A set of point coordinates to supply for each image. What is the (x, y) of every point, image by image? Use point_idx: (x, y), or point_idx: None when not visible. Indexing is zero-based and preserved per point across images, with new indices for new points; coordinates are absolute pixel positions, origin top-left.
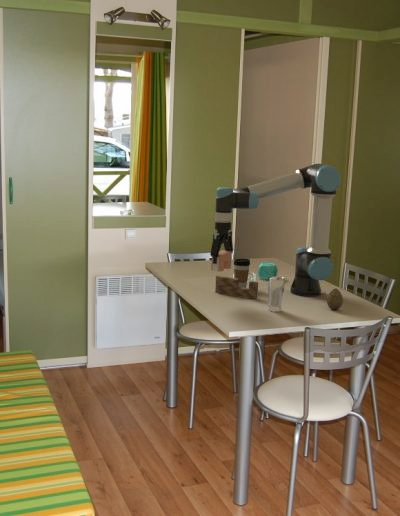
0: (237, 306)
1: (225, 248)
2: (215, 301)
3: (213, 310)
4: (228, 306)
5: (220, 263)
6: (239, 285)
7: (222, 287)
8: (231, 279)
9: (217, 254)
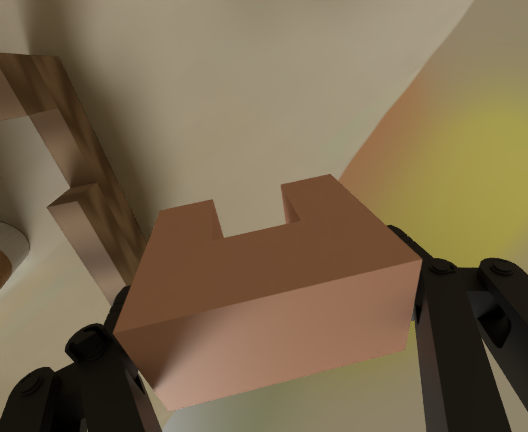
0: (247, 32)
1: (154, 419)
2: (257, 162)
3: (377, 71)
4: (279, 66)
5: (361, 206)
6: (8, 240)
7: (133, 242)
8: (96, 229)
9: (453, 279)
